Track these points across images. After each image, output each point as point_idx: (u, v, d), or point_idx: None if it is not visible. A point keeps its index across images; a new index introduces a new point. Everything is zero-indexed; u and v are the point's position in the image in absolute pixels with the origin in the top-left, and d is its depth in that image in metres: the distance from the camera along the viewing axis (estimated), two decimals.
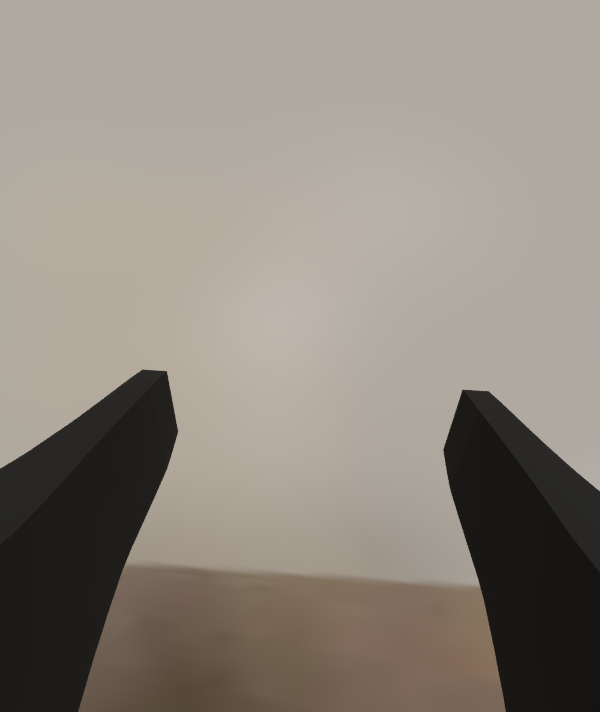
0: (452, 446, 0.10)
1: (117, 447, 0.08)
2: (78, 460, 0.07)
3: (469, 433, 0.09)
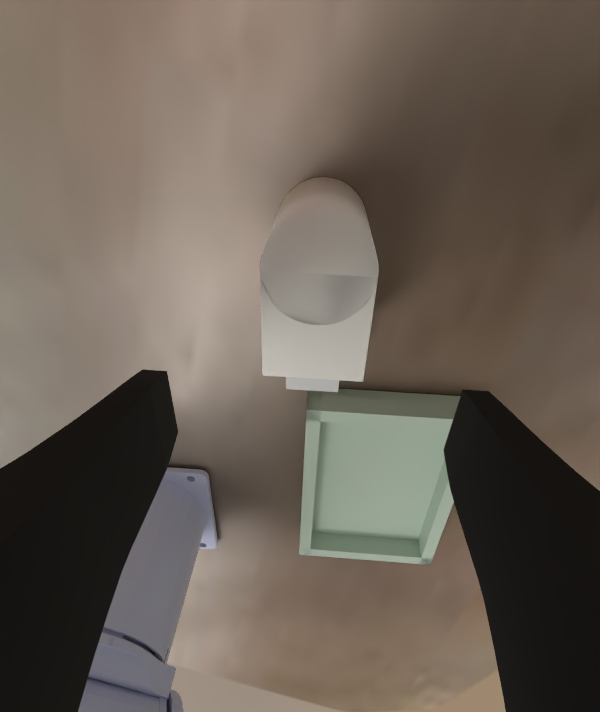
0: (452, 446, 0.10)
1: (117, 447, 0.08)
2: (78, 460, 0.07)
3: (469, 433, 0.09)
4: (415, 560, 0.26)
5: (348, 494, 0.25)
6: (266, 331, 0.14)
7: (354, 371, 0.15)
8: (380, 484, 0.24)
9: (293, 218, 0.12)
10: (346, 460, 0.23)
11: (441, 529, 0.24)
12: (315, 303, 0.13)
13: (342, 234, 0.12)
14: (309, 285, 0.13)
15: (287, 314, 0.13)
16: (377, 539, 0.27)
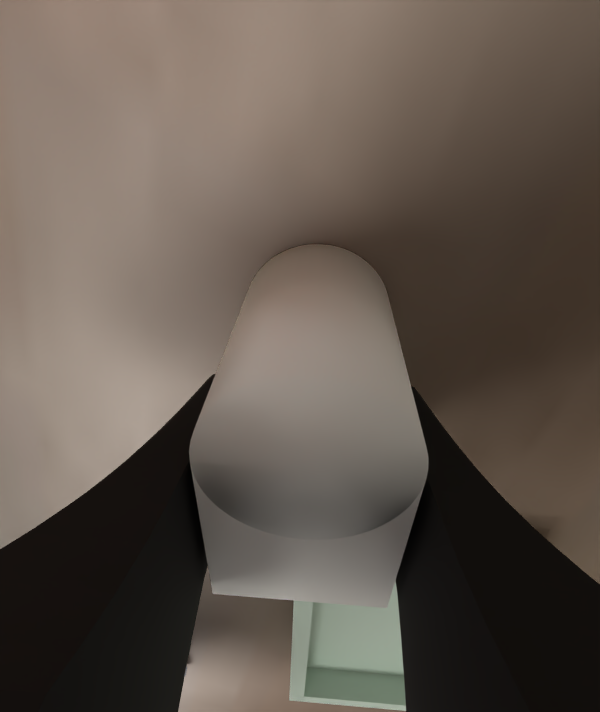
0: None
1: None
2: (182, 467, 0.07)
3: None
4: None
5: (353, 634, 0.19)
6: (213, 543, 0.08)
7: (372, 595, 0.08)
8: (397, 626, 0.18)
9: (251, 380, 0.06)
10: None
11: None
12: (301, 511, 0.07)
13: (355, 412, 0.06)
14: (289, 487, 0.07)
15: (249, 523, 0.07)
16: (391, 678, 0.21)
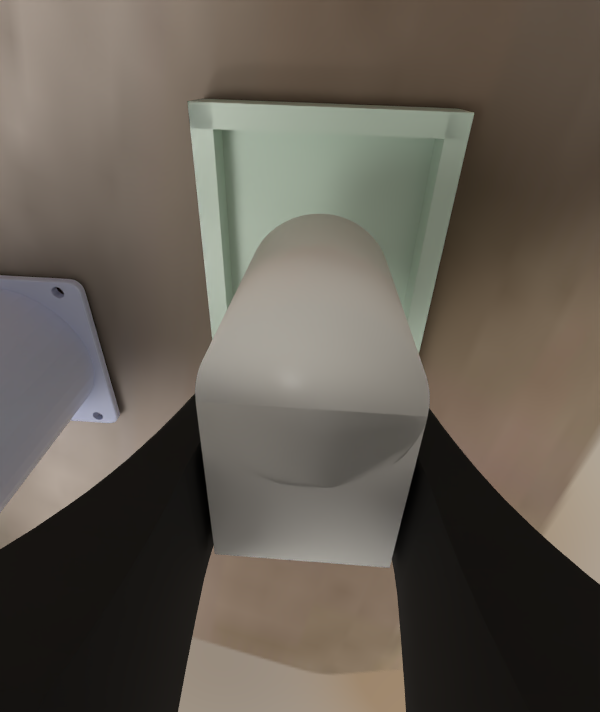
0: None
1: None
2: (181, 467, 0.07)
3: None
4: None
5: None
6: (216, 494, 0.08)
7: (375, 553, 0.08)
8: None
9: (257, 309, 0.06)
10: None
11: None
12: (305, 455, 0.07)
13: (358, 341, 0.06)
14: (292, 428, 0.07)
15: (252, 470, 0.07)
16: None
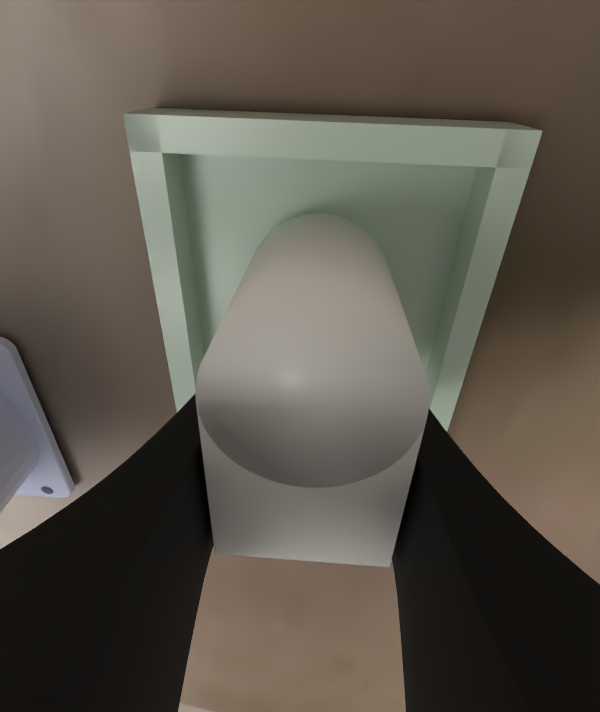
0: None
1: None
2: (182, 467, 0.07)
3: None
4: None
5: None
6: (216, 494, 0.08)
7: (375, 553, 0.08)
8: None
9: (257, 309, 0.06)
10: None
11: None
12: (304, 455, 0.07)
13: (358, 341, 0.06)
14: (292, 427, 0.07)
15: (252, 470, 0.07)
16: None
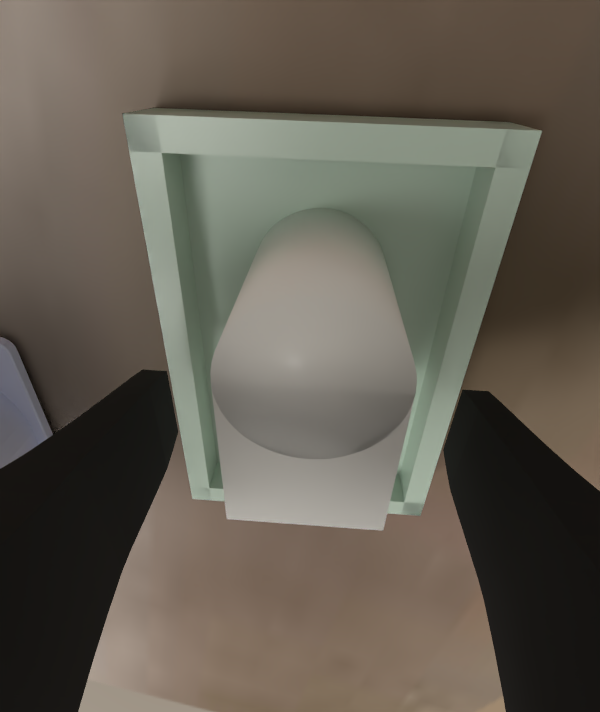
0: (452, 446, 0.10)
1: (117, 447, 0.08)
2: (78, 460, 0.07)
3: (469, 433, 0.09)
4: (394, 507, 0.15)
5: None
6: (228, 465, 0.09)
7: (370, 517, 0.09)
8: None
9: (265, 302, 0.07)
10: None
11: (440, 441, 0.13)
12: (307, 430, 0.08)
13: (354, 329, 0.07)
14: (296, 405, 0.08)
15: (261, 443, 0.08)
16: None
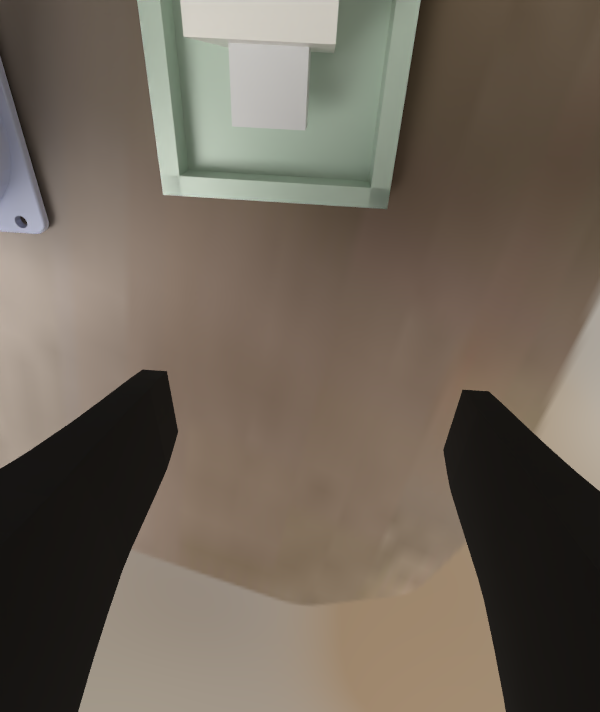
0: (452, 446, 0.10)
1: (117, 447, 0.08)
2: (78, 460, 0.07)
3: (469, 433, 0.09)
4: (361, 197, 0.15)
5: None
6: None
7: (322, 20, 0.10)
8: None
9: None
10: None
11: (403, 87, 0.13)
12: None
13: None
14: None
15: None
16: (299, 177, 0.16)
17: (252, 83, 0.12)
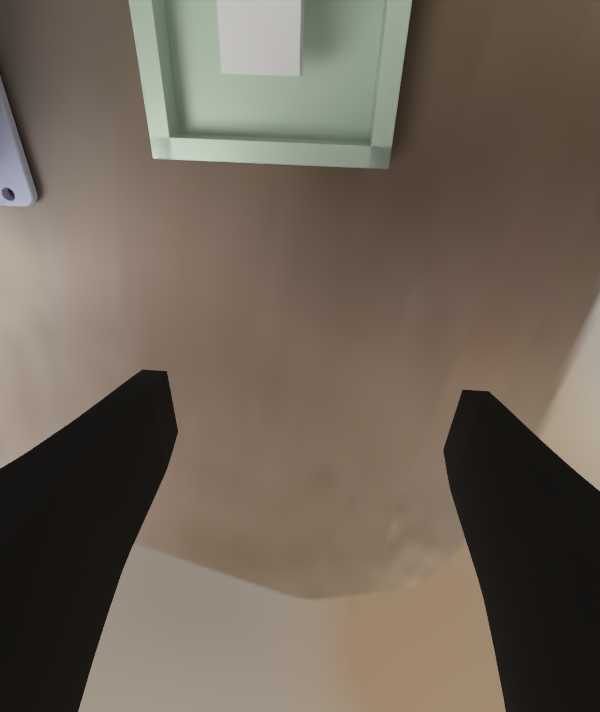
0: (452, 446, 0.10)
1: (117, 447, 0.08)
2: (78, 460, 0.07)
3: (469, 433, 0.09)
4: (361, 157, 0.14)
5: None
6: None
7: None
8: None
9: None
10: None
11: (403, 33, 0.12)
12: None
13: None
14: None
15: None
16: (296, 138, 0.15)
17: (241, 24, 0.11)
